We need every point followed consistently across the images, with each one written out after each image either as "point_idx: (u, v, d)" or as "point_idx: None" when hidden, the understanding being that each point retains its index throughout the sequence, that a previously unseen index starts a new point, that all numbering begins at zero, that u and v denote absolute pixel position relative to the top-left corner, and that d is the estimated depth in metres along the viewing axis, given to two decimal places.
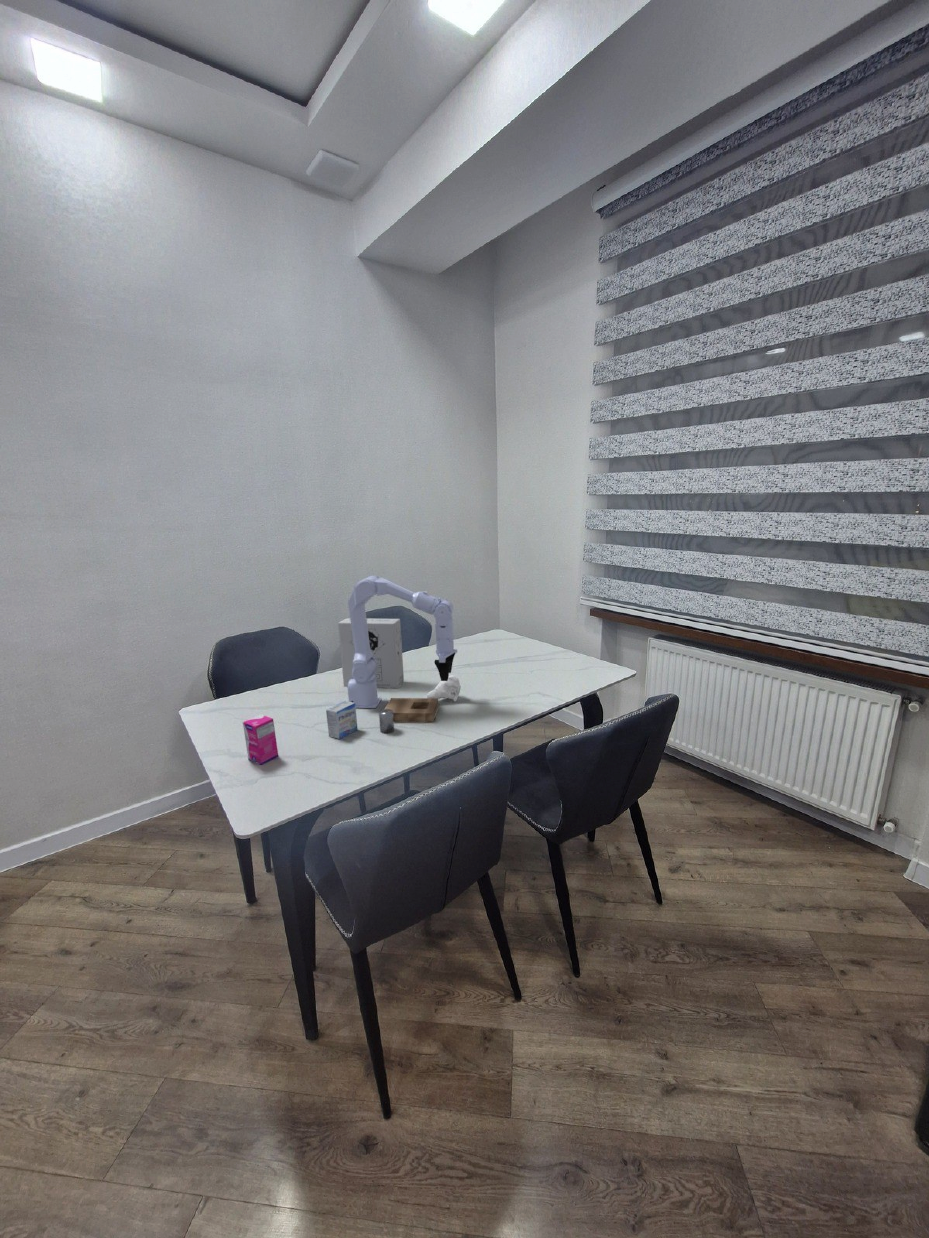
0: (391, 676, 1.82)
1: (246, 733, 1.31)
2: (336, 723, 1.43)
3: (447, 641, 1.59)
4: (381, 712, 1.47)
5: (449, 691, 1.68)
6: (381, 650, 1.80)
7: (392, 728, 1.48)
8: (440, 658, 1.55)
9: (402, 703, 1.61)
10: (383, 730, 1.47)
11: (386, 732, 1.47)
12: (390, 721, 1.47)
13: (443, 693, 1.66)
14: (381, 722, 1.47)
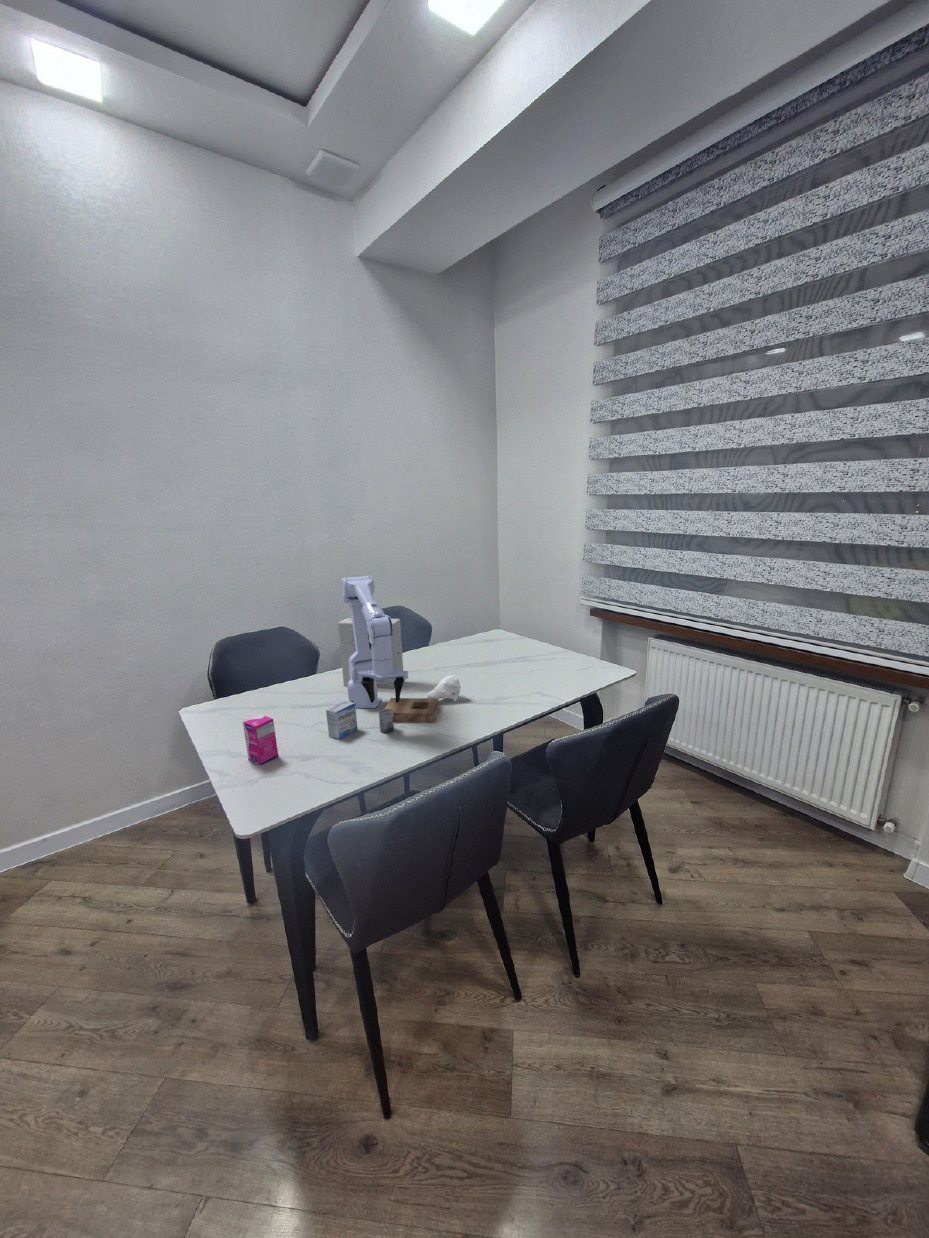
0: None
1: (246, 733, 1.31)
2: (336, 723, 1.43)
3: (372, 661, 1.43)
4: (381, 712, 1.47)
5: (449, 691, 1.68)
6: None
7: (392, 728, 1.48)
8: None
9: (402, 703, 1.61)
10: (383, 730, 1.47)
11: (386, 732, 1.47)
12: (390, 721, 1.47)
13: (443, 693, 1.66)
14: (381, 722, 1.47)
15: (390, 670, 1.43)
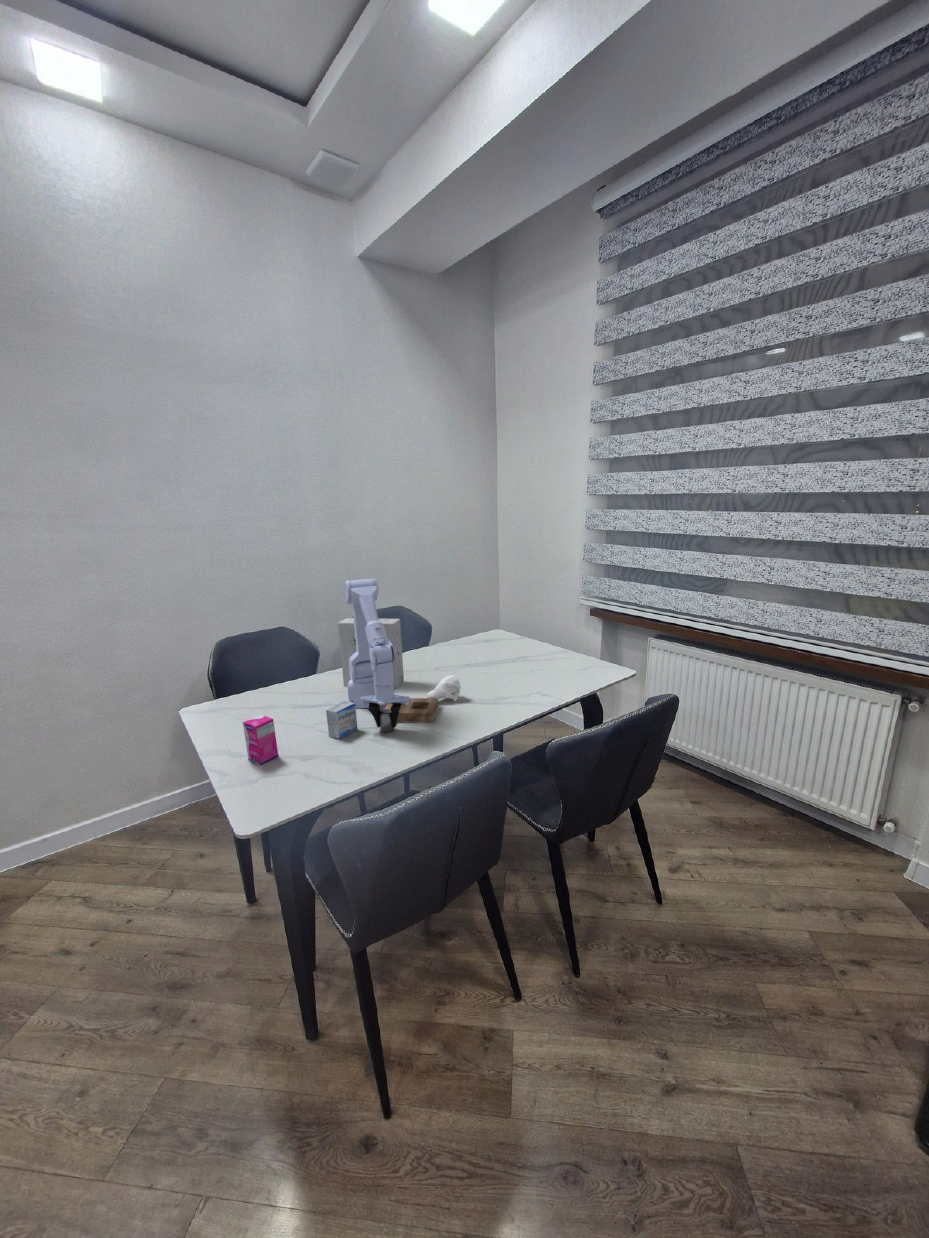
0: None
1: (246, 733, 1.31)
2: (336, 723, 1.43)
3: (374, 687, 1.45)
4: (381, 712, 1.47)
5: (449, 691, 1.68)
6: None
7: (392, 728, 1.48)
8: None
9: None
10: (383, 730, 1.47)
11: (386, 732, 1.47)
12: (390, 721, 1.47)
13: (443, 693, 1.66)
14: (381, 722, 1.47)
15: (392, 695, 1.45)
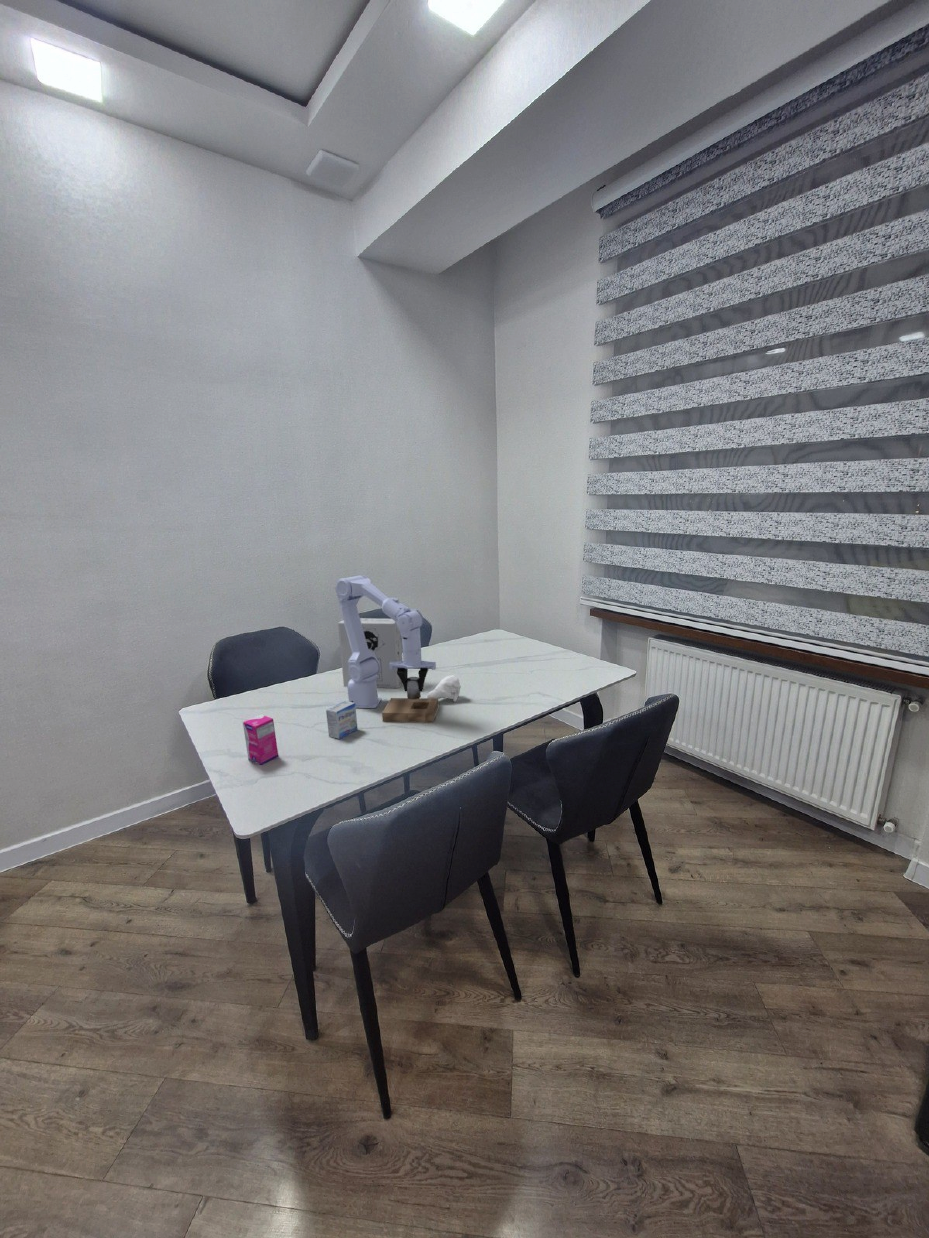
0: (391, 676, 1.82)
1: (246, 733, 1.31)
2: (336, 723, 1.43)
3: None
4: (408, 679, 1.55)
5: (449, 691, 1.68)
6: (381, 650, 1.80)
7: (418, 695, 1.54)
8: None
9: (402, 703, 1.61)
10: (409, 696, 1.54)
11: (412, 698, 1.54)
12: (416, 688, 1.54)
13: (443, 693, 1.66)
14: (408, 688, 1.54)
15: (419, 661, 1.52)
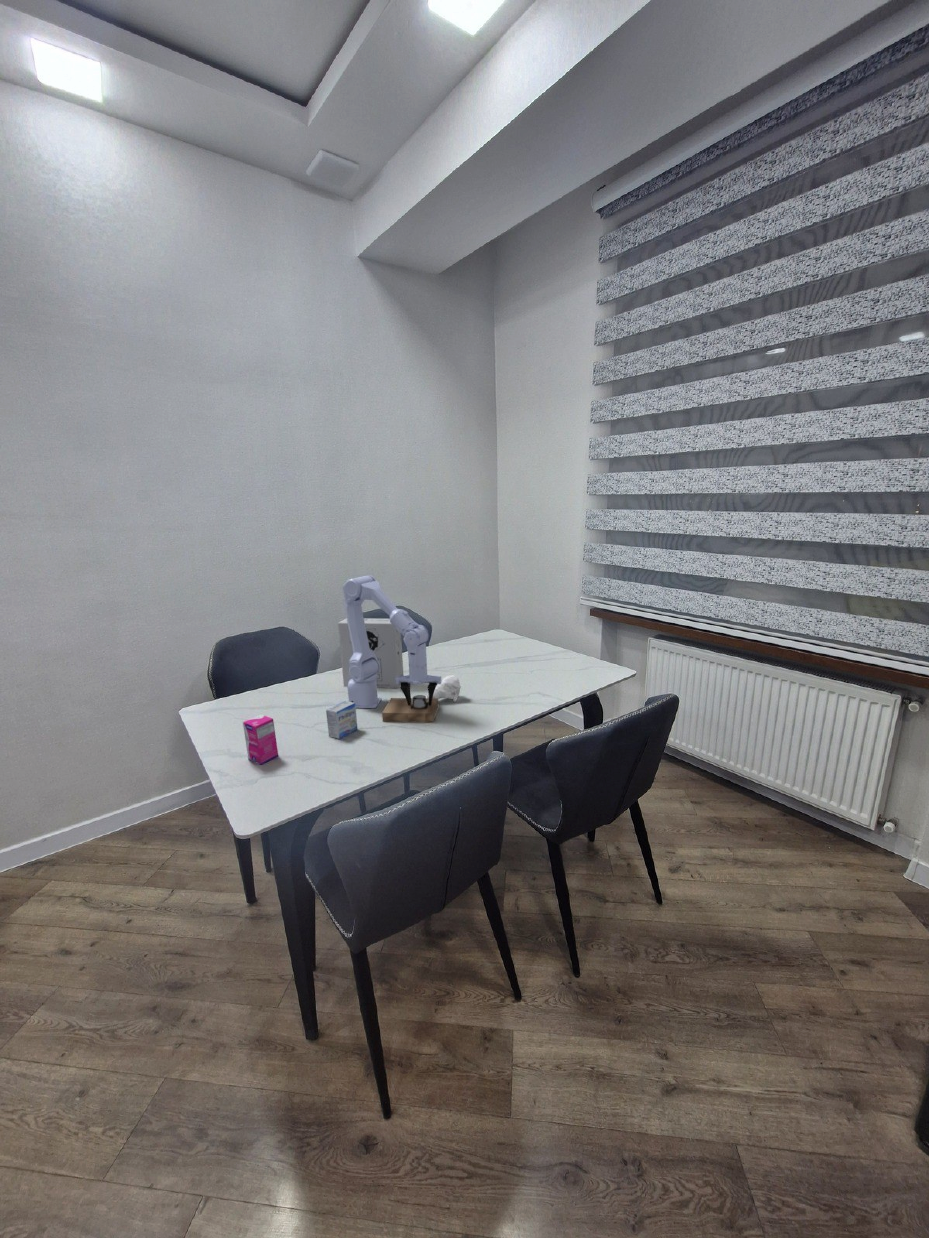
0: (391, 676, 1.82)
1: (246, 733, 1.31)
2: (336, 723, 1.43)
3: (409, 667, 1.55)
4: (415, 697, 1.58)
5: (449, 691, 1.68)
6: (380, 650, 1.80)
7: None
8: None
9: (402, 703, 1.61)
10: None
11: None
12: (423, 706, 1.57)
13: (443, 693, 1.66)
14: (414, 706, 1.57)
15: (425, 675, 1.55)
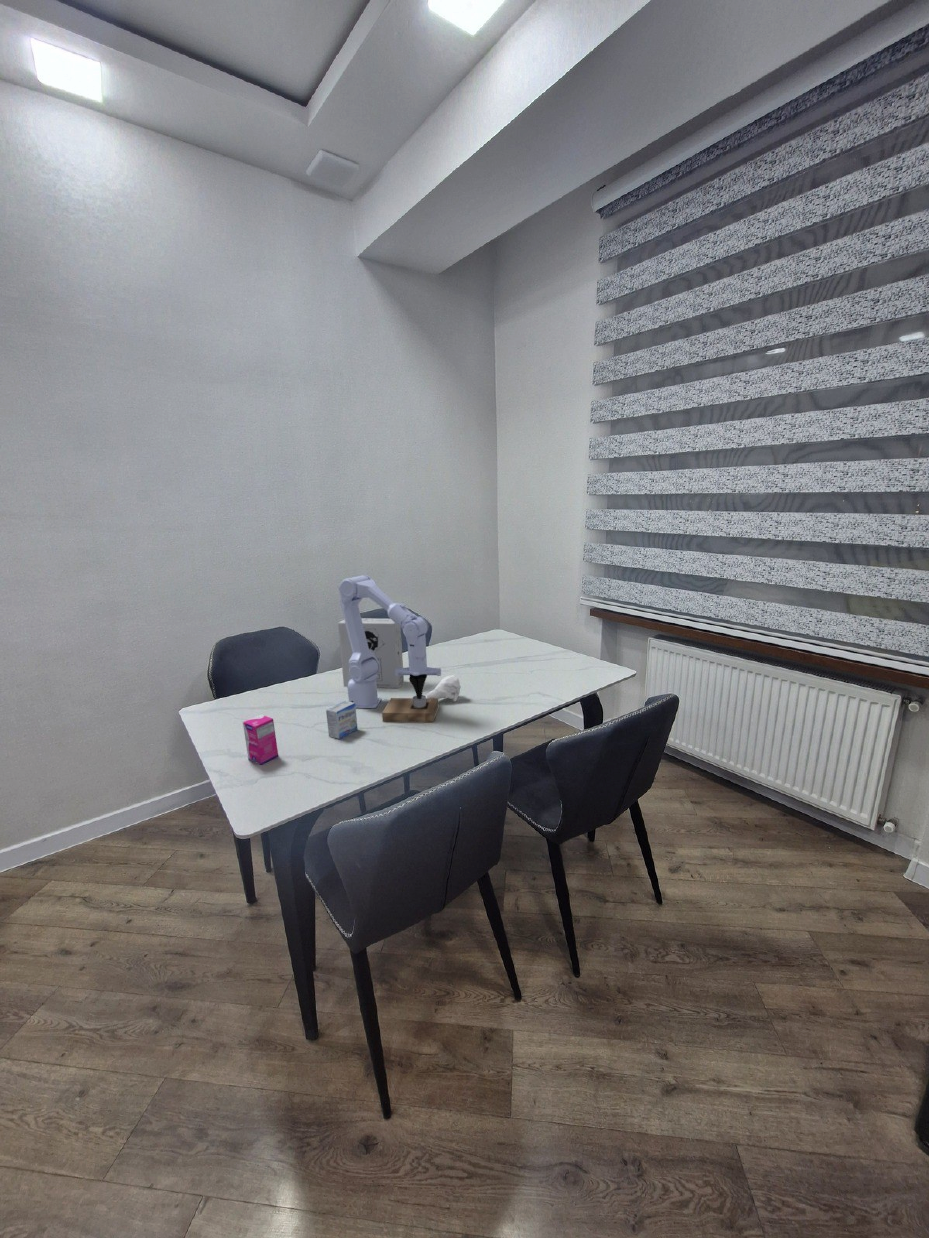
0: (391, 676, 1.82)
1: (246, 733, 1.31)
2: (336, 723, 1.43)
3: (408, 659, 1.54)
4: (415, 697, 1.58)
5: (449, 691, 1.68)
6: (381, 650, 1.80)
7: None
8: None
9: (402, 703, 1.61)
10: None
11: None
12: (423, 706, 1.57)
13: (443, 693, 1.66)
14: (414, 707, 1.57)
15: (425, 667, 1.55)
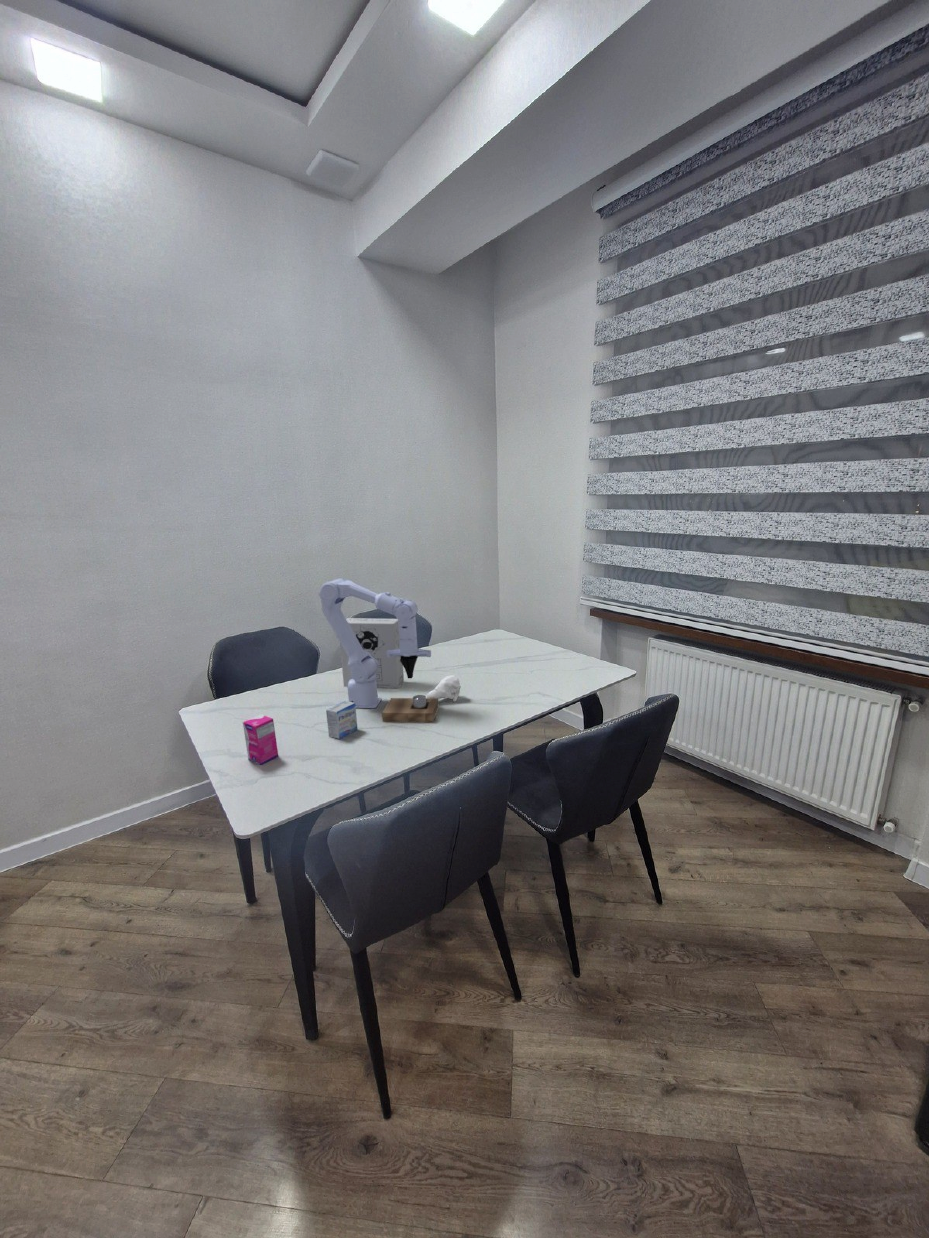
0: (391, 676, 1.82)
1: (246, 733, 1.31)
2: (336, 723, 1.43)
3: (399, 641, 1.60)
4: (415, 697, 1.58)
5: (449, 691, 1.68)
6: (381, 650, 1.80)
7: None
8: None
9: (402, 703, 1.61)
10: None
11: None
12: (423, 706, 1.57)
13: (443, 693, 1.66)
14: (414, 706, 1.57)
15: (415, 648, 1.60)
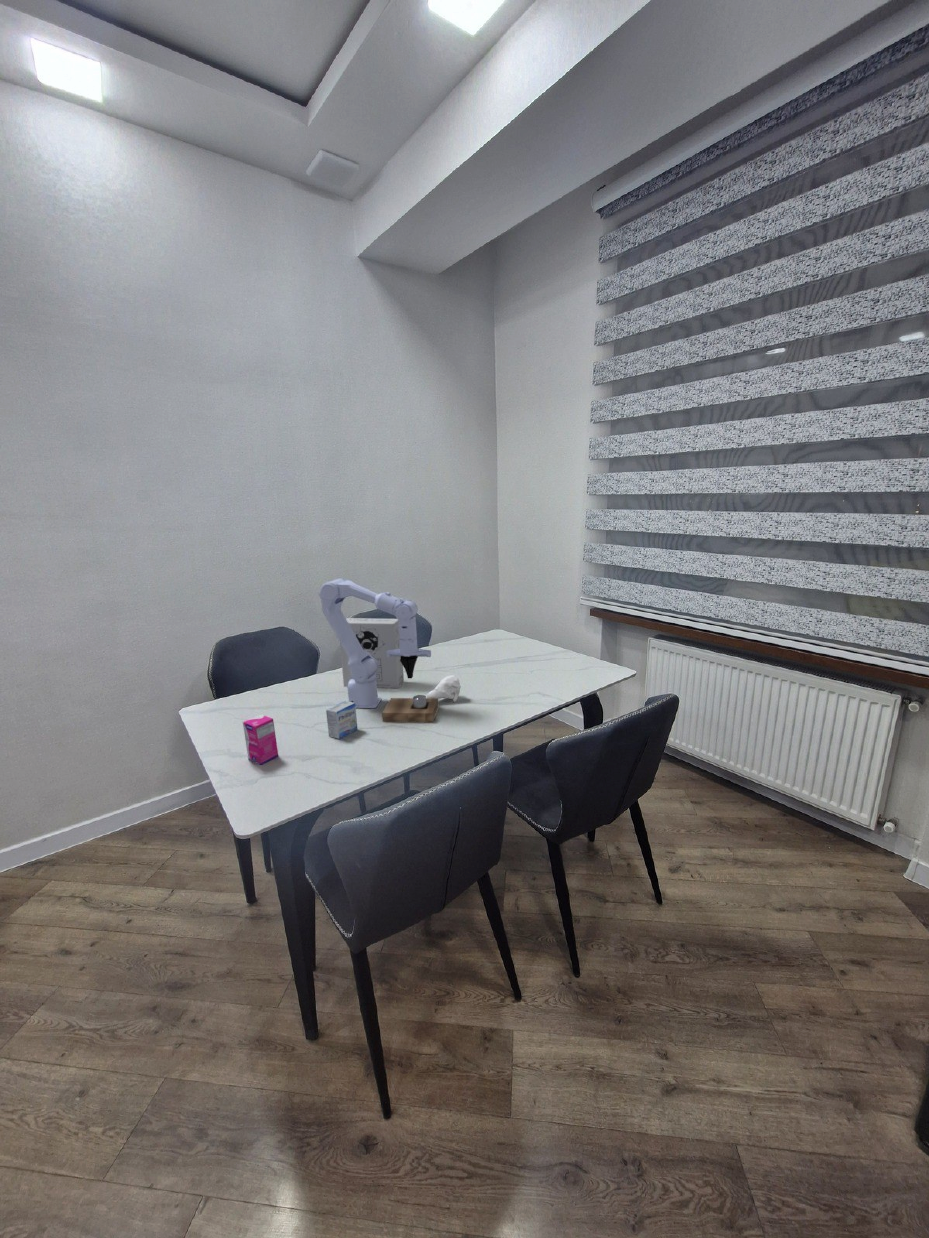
0: (391, 676, 1.82)
1: (246, 733, 1.31)
2: (336, 723, 1.43)
3: (399, 641, 1.60)
4: (415, 697, 1.58)
5: (449, 691, 1.68)
6: (381, 650, 1.80)
7: None
8: None
9: (402, 703, 1.61)
10: None
11: None
12: (423, 706, 1.57)
13: (443, 693, 1.66)
14: (414, 706, 1.57)
15: (415, 648, 1.60)
